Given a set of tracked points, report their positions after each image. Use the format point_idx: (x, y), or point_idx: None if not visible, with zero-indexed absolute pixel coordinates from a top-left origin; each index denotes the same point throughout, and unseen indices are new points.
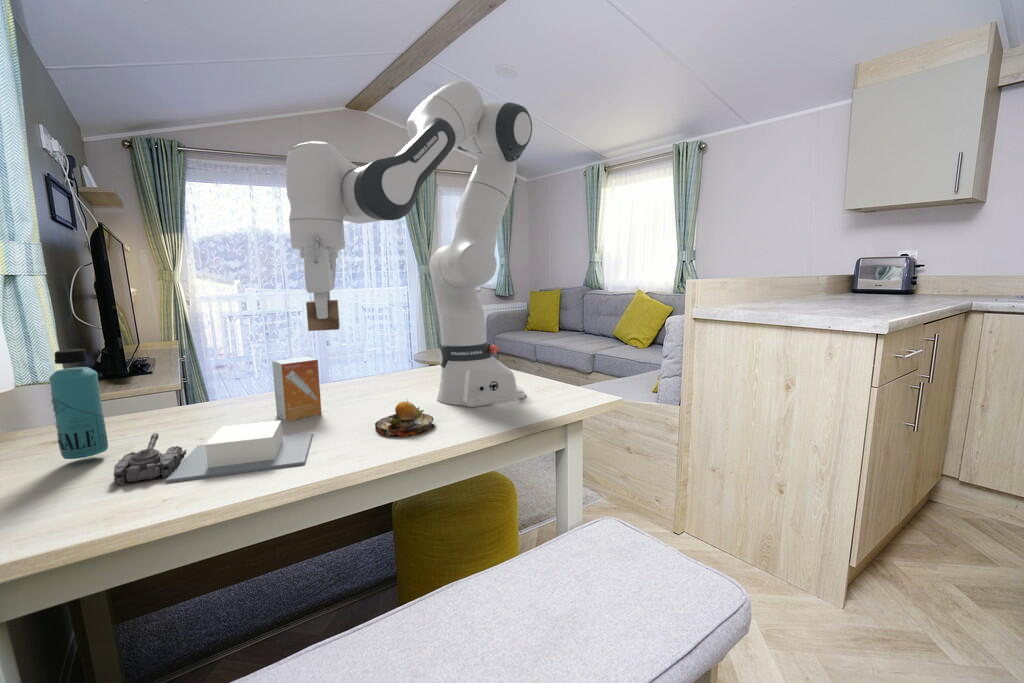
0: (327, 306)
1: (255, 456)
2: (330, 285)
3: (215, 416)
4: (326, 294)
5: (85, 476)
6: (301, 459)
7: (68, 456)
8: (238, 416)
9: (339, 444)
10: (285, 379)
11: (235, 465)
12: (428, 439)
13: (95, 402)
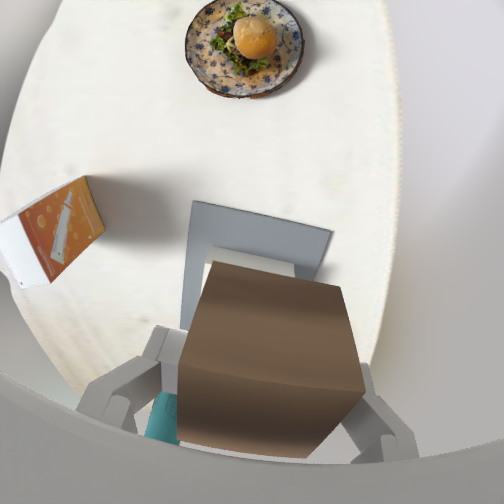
0: (371, 400)
1: None
2: (494, 463)
3: (60, 301)
4: (417, 450)
5: None
6: (318, 234)
7: None
8: (64, 280)
9: (271, 169)
10: (66, 262)
11: None
12: (338, 36)
13: (168, 427)
